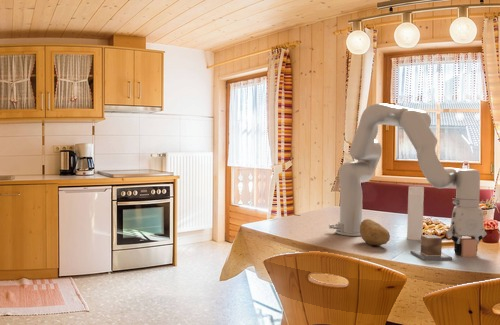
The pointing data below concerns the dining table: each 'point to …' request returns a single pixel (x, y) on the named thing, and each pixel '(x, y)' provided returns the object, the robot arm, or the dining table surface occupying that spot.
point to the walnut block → (431, 244)
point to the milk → (415, 213)
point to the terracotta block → (468, 247)
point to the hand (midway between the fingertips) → (465, 253)
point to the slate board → (430, 256)
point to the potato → (373, 233)
